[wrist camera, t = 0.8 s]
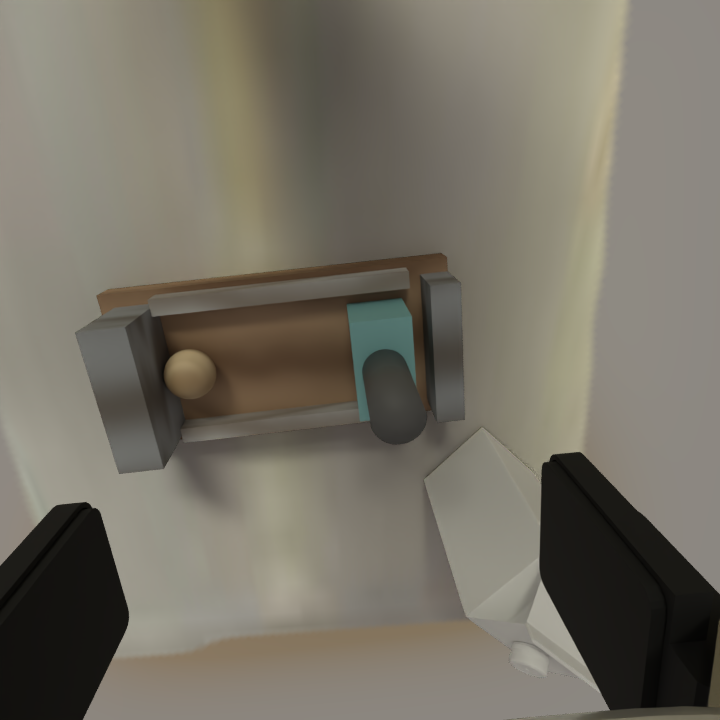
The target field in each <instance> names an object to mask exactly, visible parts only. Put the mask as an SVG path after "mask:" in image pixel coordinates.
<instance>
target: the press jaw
mask: <svg viewBox="0 0 720 720" xmlns="http://www.w3.org/2000/svg"><path fill="white" fill-rule="evenodd" d="M347 312H348V321H349V330H350V339H351V348H352V357H353V366H354V375H355V384H356V393H357V401H358V409H359V417H360V421H368V420H370V424H371V428H372V430H373V432H374V433H375V435H376V436H377V437H378V438H379V439H381V440H382V441H384V442H386V443H390V444H404V443H408V442H410V441H412V440H414V439H415V438H417V437H418V436H419V435H420V434H421V432H422V431H423V429H424V427H425V425H426V420H427V415H426V410H425V408H424V405H423V403H422V400H421V398H420V395H419V393H418V390H417V388H416V373H415V357H414V342H413V326H412V316H411V314H410V312H409V310H408V309H407V307H406V305H405V303H404V301H403V300H402V298H395V299H386V300H377V301H367V302H358V303H349V304H347Z"/></svg>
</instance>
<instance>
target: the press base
mask: <svg viewBox="0 0 720 720" xmlns="http://www.w3.org/2000/svg"><path fill="white" fill-rule="evenodd" d="M395 298H402V300H403V301H404V303H405V305H406V307H407V309H408V310H409V312H410V314H411V316H412V326H413V342H414V357H415V373H416V388H417V390H418V393H419V395H420V398H421V400H422V403H423V405H424V408H425V410H426V411H430V410H432V412H433V414H434V417H435V419H436V421H437V423H441V422H449V421H458V420H465V409H464V375H463V340H462V305H461V282H460V281H458V280H457V279H456V278H455V277H454V276H452V275H451V274H450V273H449V272H448V271H447V257H446V256H444V255H443V254H442V253H438V254H429V255H420V256H411V257H401V258H392V259H383V260H374V261H365V262H356V263H346V264H337V265H328V266H319V267H310V268H301V269H291V270H282V271H273V272H264V273H255V274H245V275H236V276H227V277H218V278H209V279H200V280H190V281H181V282H172V283H163V284H154V285H144V286H135V287H126V288H117V289H108V290H106V291H104V292H102V293H101V294H99V295H97V299H98V302H99V306H100V309H101V313H102V316H101V317H99V318H98V319H96V320H94V321H93V322H91V323H90V324H88V325H87V326H85V327H83V328H82V329H80V330H79V331H77V332H76V333H75V334H76V337H77V341H78V344H79V347H80V350H81V353H82V357H83V360H84V363H85V366H86V369H87V373H88V376H89V379H90V382H91V385H92V389H93V392H94V395H95V398H96V401H97V405H98V408H99V411H100V414H101V418H102V421H103V424H104V427H105V430H106V434H107V437H108V440H109V443H110V446H111V450H112V453H113V456H114V459H115V462H116V466H117V469H118V472H119V474H123V473H132V472H140V471H149V470H158V469H164V467H165V466H166V464H167V462H168V460H169V458H170V457H171V455H172V453H173V451H174V449H175V448H176V446H177V444H178V442H179V440H180V439H183V443H189V442H198V441H206V440H215V439H224V438H232V437H241V436H250V435H259V434H267V433H276V432H285V431H293V430H302V429H311V428H320V427H328V426H337V425H346V424H354V423H363V422H370V420H368V421H360V417H359V409H358V401H357V393H356V384H355V375H354V366H353V357H352V348H351V339H350V330H349V321H348V312H347V304H349V303H358V302H367V301H377V300H386V299H395Z"/></svg>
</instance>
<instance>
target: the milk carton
mask: <svg viewBox="0 0 720 720" xmlns="http://www.w3.org/2000/svg"><path fill="white" fill-rule="evenodd" d="M424 483H425V486H426V489H427V493H428V496H429V499H430V502H431V506H432V509H433V512H434V515H435V519H436V522H437V525H438V529H439V532H440V535H441V538H442V542H443V545H444V548H445V551H446V555H447V558H448V561H449V565H450V568H451V571H452V574H453V578H454V581H455V584H456V587H457V591H458V594H459V597H460V600H461V604H462V607H463V610H464V613H465V615H466V617H467V618H468V619H469V620H471V621H472V622H473V623H475V624H476V625H478V626H479V627H480V628H482V629H483V630H485V631H486V632H487V633H489V634H490V635H491V636H493V637H494V638H495V639H497V640H498V641H500V642H501V643H503V644H504V645H505V646H507V647H508V648H509V649H511V653H510V656H509V663H510V664H511V665H512V666H513V667H514V668H516V669H518V670H519V671H521V672H523V673H525V674H528V675H531V676H534V677H538V678H546V677H547V674H548V672H551V673H555V674H561V675H565V676H570V677H575V678H580V679H582V680H583V681H585V682H586V683H587V684H589V685H590V686H591V687H593V688H594V689H595V690H597V691H598V692H599V693H601V692H600V690H599V689H598V687H597V685H596V683H595V681H594V679H593V677H592V675H591V673H590V672H589V670H588V668H587V666H586V664H585V662H584V660H583V658H582V657H581V655H580V653H579V651H578V649H577V647H576V645H575V643H574V642H573V640H572V638H571V636H570V634H569V632H568V630H567V628H566V627H565V625H564V623H563V621H562V619H561V617H560V615H559V613H558V612H557V610H556V608H555V606H554V604H553V602H552V600H551V598H550V596H549V595H548V593H547V591H546V589H545V587H544V585H543V583H542V580H541V576H540V570H539V555H540V517H541V483H540V482H539V480H538V479H537V477H536V476H535V474H534V473H533V472H532V471H531V470H530V469H529V468H528V467H527V466H526V465H525V464H524V463H522V462H521V461H520V460H519V459H518V458H517V457H516V456H515V455H513V454H512V453H511V452H510V451H509V450H508V449H507V448H506V447H505V446H503V445H502V444H501V443H500V442H499V441H498V440H497V439H496V438H494V437H493V436H492V435H491V434H490V433H489V432H488V431H487V430H485V429H484V428H483V427H482V428H480V429H479V430H478V431H477V432H476V433H475V434H474V435H473V436H471V437H470V438H469V439H468V440H467V441H466V442H465V443H464V444H463V445H461V446H460V447H459V448H458V449H457V450H456V451H455V452H454V453H453V454H452V455H450V456H449V457H448V458H447V459H446V460H445V461H444V462H443V463H442V464H441V465H439V466H438V467H437V468H436V469H435V470H434V471H433V472H432V473H431V474H430V475H429V476H427V477H426V478H425V479H424Z"/></svg>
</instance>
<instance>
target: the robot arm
mask: <svg viewBox="0 0 720 720" xmlns="http://www.w3.org/2000/svg"><path fill="white" fill-rule="evenodd" d="M539 570H540V576H541V580H542V583H543V585H544V587H545V589H546V591H547V593H548V595H549V596H550V598H551V600H552V602H553V604H554V606H555V608H556V610H557V612H558V613H559V615H560V617H561V619H562V621H563V623H564V625H565V627H566V628H567V630H568V632H569V634H570V636H571V638H572V640H573V642H574V643H575V645H576V647H577V649H578V651H579V653H580V655H581V657H582V658H583V660H584V662H585V664H586V666H587V668H588V670H589V672H590V673H591V675H592V677H593V679H594V681H595V683H596V685H597V687H598V689H599V690H600V692H601V694H602V696H603V698H604V700H605V702H606V704H607V705H608V707H609V709H610V711H599V712H587V713H575V714H563V715H550V716H538V717H529V718H518V719H509V720H720V594H719V593H718V592H717V591H716V590H715V589H714V588H713V587H712V586H711V585H710V584H709V583H708V582H707V581H706V580H705V579H704V578H703V576H702V575H701V574H700V573H699V572H698V571H697V570H696V569H695V568H694V567H693V566H692V565H691V564H690V563H689V562H688V561H687V560H686V559H685V558H684V557H683V556H682V555H681V554H680V553H679V552H678V551H677V550H676V548H675V547H674V546H673V545H672V544H671V543H670V542H669V541H668V540H667V539H666V538H665V537H664V536H663V535H662V534H661V533H660V532H659V531H658V530H657V529H656V528H655V527H654V526H653V525H652V524H651V522H650V521H649V520H647V518H646V517H644V516H643V515H642V514H641V513H640V512H638V511H637V510H636V509H635V508H634V507H633V506H632V505H631V504H630V503H629V502H628V501H627V500H626V499H625V498H624V497H623V496H622V495H621V494H620V493H619V491H618V490H617V489H616V488H615V487H614V486H613V485H612V484H611V483H610V482H609V481H608V480H607V479H606V478H605V477H604V476H603V475H602V474H601V473H600V472H599V470H597V468H596V467H595V466H594V465H593V464H592V463H591V462H590V461H589V460H588V459H587V458H586V457H585V456H584V455H583V454H582V453H581V452H574V453H564V454H555V455H552V456H551V458H550V461H549V462H544V463H543V465H542V479H541V517H540V555H539ZM128 621H129V611H128V607H127V603H126V600H125V596H124V593H123V589H122V586H121V582H120V579H119V575H118V572H117V569H116V565H115V562H114V558H113V555H112V551H111V548H110V544H109V541H108V537H107V534H106V531H105V527H104V524H103V520H102V517H101V514H100V511H99V510H98V509H96V508H92V507H91V505H90V504H89V503H87V502H82V503H72V504H62V505H56V506H55V507H54V508H52V510H51V511H50V512H49V513H48V514H47V515H46V516H45V517H44V518H43V519H42V521H41V522H40V523H39V524H38V525H37V526H36V527H35V528H34V529H33V530H32V532H31V533H30V534H29V535H28V536H27V537H26V538H25V539H24V540H23V542H22V543H21V544H20V545H19V546H18V547H17V548H16V549H15V550H14V551H13V553H12V554H11V555H10V556H9V557H8V558H7V559H6V560H5V561H4V562H3V564H2V565H1V566H0V720H83V718H84V716H85V714H86V712H87V710H88V708H89V706H90V704H91V702H92V700H93V697H94V695H95V693H96V691H97V689H98V687H99V685H100V683H101V681H102V679H103V677H104V675H105V673H106V671H107V669H108V666H109V664H110V662H111V660H112V658H113V656H114V654H115V652H116V650H117V648H118V646H119V644H120V642H121V640H122V638H123V636H124V633H125V631H126V629H127V626H128Z"/></svg>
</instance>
